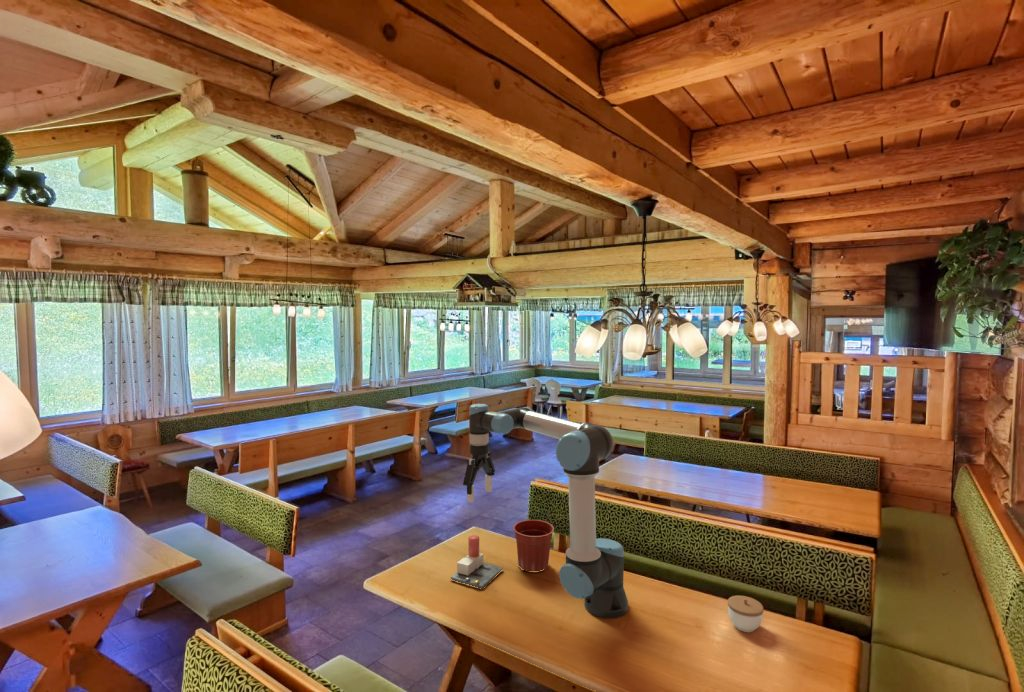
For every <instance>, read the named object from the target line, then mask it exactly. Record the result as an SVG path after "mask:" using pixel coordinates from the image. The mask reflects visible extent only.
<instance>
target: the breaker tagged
mask: <svg viewBox="0 0 1024 692" xmlns="http://www.w3.org/2000/svg"><path fill="white" fill-rule="evenodd" d="M465 558H469V559H473V560H475V569H477V568H479V567H480V566H481V565H482V564H483V562H484V553H481V552H479V556H477V557H470V556H469V555H468V554H467V555H466V556H465Z"/></svg>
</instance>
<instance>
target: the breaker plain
mask: <svg viewBox="0 0 1024 692" xmlns="http://www.w3.org/2000/svg"><path fill="white" fill-rule="evenodd" d="M474 570H475V560H473V559H469V558H466V556H464V557H462V558H461V559H460V560H459V561H457V562H456V573H461V574H464V575H469V574H470V573H472V572H473V571H474Z"/></svg>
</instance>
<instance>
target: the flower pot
mask: <svg viewBox="0 0 1024 692" xmlns="http://www.w3.org/2000/svg"><path fill="white" fill-rule="evenodd" d="M512 529H513V531H514V536H515V539H516V552H517V563H518V565H519V566H520V567H521V568H522V569H524V570H525V571H526V570H527V571H526V572H528V571H540V570H543V569H545V568H546V567H549V560H550V552H551V551H550V550H551V543H552V539H553V533H554V531H555V527H554V525H553V524H551V523H549V522H548V521H545V520H541V519H526V520H521V521H519V522H516V523H515V524H514V525H513V527H512ZM519 566H518V567H519ZM546 569H547V568H546ZM546 569H545V570H546Z"/></svg>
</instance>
